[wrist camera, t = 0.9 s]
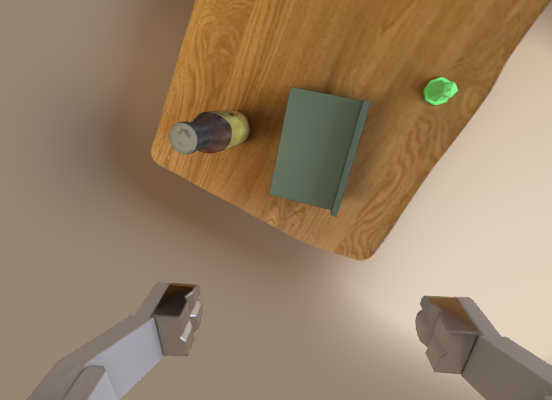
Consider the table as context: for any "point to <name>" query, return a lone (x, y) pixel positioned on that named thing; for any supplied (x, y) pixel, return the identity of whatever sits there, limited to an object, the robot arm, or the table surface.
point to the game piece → (439, 91)
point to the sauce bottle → (210, 132)
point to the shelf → (317, 147)
